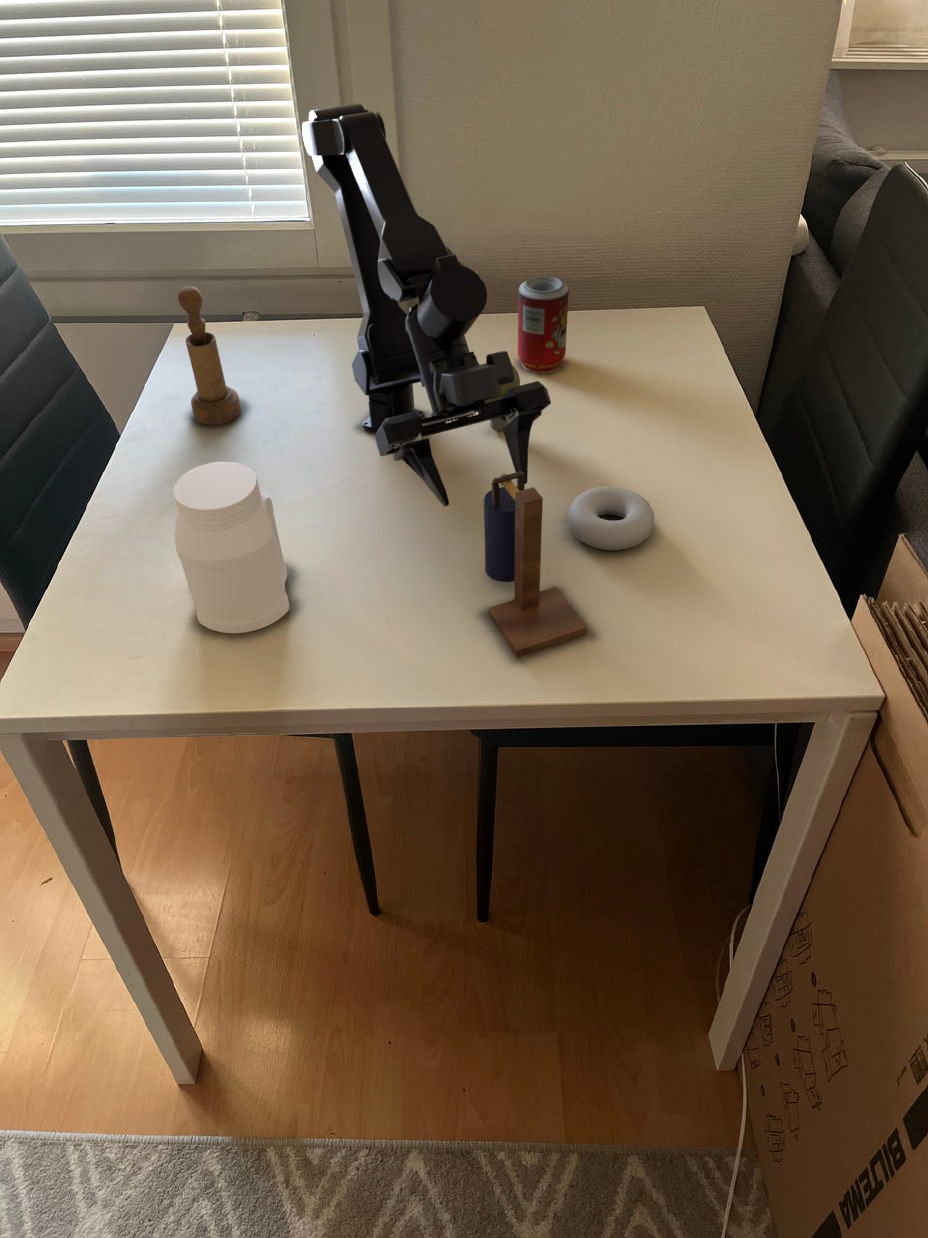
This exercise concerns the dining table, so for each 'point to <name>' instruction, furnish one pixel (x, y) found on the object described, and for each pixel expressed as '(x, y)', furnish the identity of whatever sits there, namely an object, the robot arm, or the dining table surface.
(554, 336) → the soda can
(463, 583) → the dining table surface
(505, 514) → the blue handled weight
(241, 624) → the jar
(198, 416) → the mortar and pestle
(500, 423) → the light bulb
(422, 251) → the robot arm
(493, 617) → the hook stand
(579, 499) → the donut
